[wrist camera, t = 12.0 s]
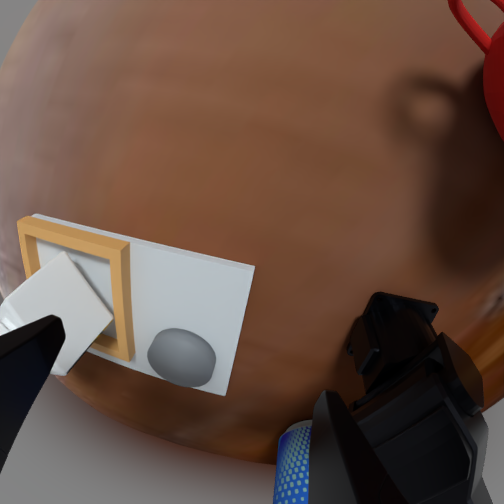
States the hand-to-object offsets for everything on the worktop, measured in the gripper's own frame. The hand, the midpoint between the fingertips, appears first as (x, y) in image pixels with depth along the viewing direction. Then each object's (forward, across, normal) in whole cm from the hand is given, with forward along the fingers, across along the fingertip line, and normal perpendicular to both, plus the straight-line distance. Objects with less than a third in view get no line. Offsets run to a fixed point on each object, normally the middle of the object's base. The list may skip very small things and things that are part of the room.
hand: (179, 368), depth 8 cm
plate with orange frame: (+13, +9, +10) cm, 19 cm away
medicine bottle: (+12, +14, +9) cm, 20 cm away
